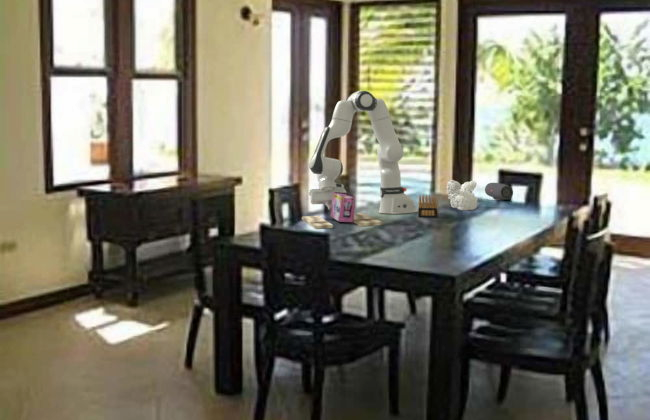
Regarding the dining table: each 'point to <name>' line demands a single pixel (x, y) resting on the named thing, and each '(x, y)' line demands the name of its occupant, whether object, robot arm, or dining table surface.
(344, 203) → the gum box
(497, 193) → the bluetooth speaker
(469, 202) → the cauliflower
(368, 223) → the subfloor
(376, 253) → the dining table surface
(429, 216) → the ammunition clip
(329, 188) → the robot arm
